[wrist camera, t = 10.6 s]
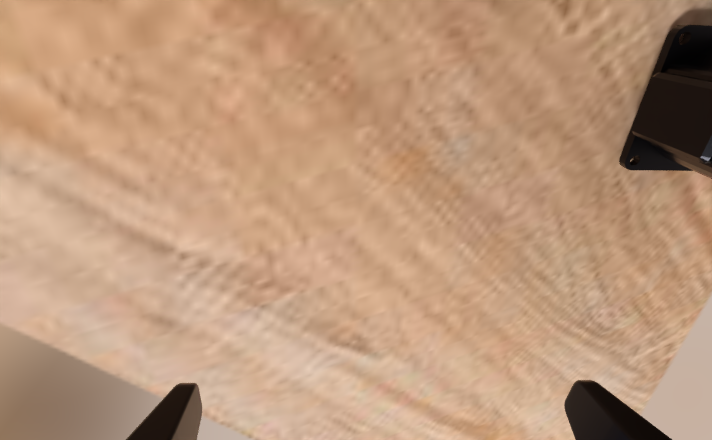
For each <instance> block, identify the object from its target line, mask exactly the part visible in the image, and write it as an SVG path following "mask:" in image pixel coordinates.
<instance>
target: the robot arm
mask: <svg viewBox="0 0 712 440" xmlns="http://www.w3.org/2000/svg"><path fill="white" fill-rule="evenodd" d="M682 34H684V36H683V39H682V40H681V41H680V42H679V38H680V36H681V35H682ZM633 157H634V159H633V160H632V161H631V162H630V160H631V158H633ZM619 162H620V165H621V166H623V167H624V168H626V169H629V170H680V171H696V172H698V173H700V174H702V175H705V176H707V177H709V178H711V179H712V26H703V25H678V26H676V27H675V28H673V29H672V30H671V31H670V32H669V34H668V36H667V38H666V40H665V43H664V46H663V48H662V51H661V53H660V56H659V59H658V61H657V64H656V66H655V69H654V71H653V74H652V77H651V79H650V82H649V84H648V87H647V90H646V92H645V95H644V97H643V100H642V102H641V105H640V108H639V110H638V113H637V115H636V118H635V120H634V123H633V126H632V128H631V131H630V133H629V136H628V139H627V141H626V144H625V146H624V149H623V151H622V154H621V157H620V161H619ZM565 411H566V414H567V417H568V420H569V423H570V425H571V428H572V431H573V434H574V436H575V439H576V440H672V439H671V438H669V437H668V436H667V435H665V434H664V433H663V432H661V431H660V430H659V429H657V428H656V427H655V426H653V425H652V424H651V423H650V422H648V421H647V420H645V419H644V418H643V417H642V416H640V415H639V414H638V413H636V412H635V411H634V410H632V409H631V408H630V407H628V406H627V405H626V404H625V403H623V402H622V401H621V400H619V399H618V398H617V397H615V396H614V395H613V394H611V393H610V392H609V391H607V390H606V389H605V388H604V387H602V386H601V385H600V384H598V383H597V382H595V381H592V380H578V381H576V382H575V383H574V384H573V386H572V388H571V390H570V392H569V394H568V396H567V398H566V400H565ZM201 416H202V403H201V398H200V393H199V387H198V385H197V384H196V383H180V384H178V385H176V386H175V387H174V388H173V389H172V390H171V391H170V392H169V393H168V394H167V396H166V397H165V398H164V399H163V400H162V401H161V402H160V403H159V404H158V405H157V406H156V408H155V409H154V410H153V411H152V412H151V413H150V414H149V415H148V416H147V417H146V419H144V421H143V422H142V423H141V424H140V425H139V426H138V427H137V428H136V429H135V430H134V431H133V432H132V434H131V435H130V436H129V437H128V438H127V439H126V440H197V435H198V430H199V425H200V421H201Z"/></svg>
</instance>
